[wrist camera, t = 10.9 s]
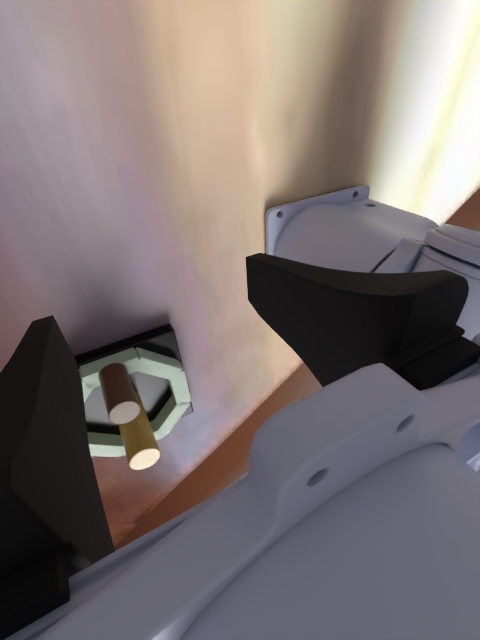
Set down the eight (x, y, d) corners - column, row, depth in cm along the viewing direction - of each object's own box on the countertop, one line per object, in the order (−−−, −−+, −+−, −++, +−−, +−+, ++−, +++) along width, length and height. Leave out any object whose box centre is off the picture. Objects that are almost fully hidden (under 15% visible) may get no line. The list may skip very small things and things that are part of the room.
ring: (191, 412, 29) (213, 456, 26) (83, 461, 26) (92, 518, 23) (171, 329, 23) (196, 371, 20) (29, 379, 20) (30, 439, 17)
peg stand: (169, 322, 24) (204, 379, 20) (189, 404, 30) (219, 463, 25) (28, 372, 21) (29, 453, 16) (81, 452, 27) (93, 530, 22)
